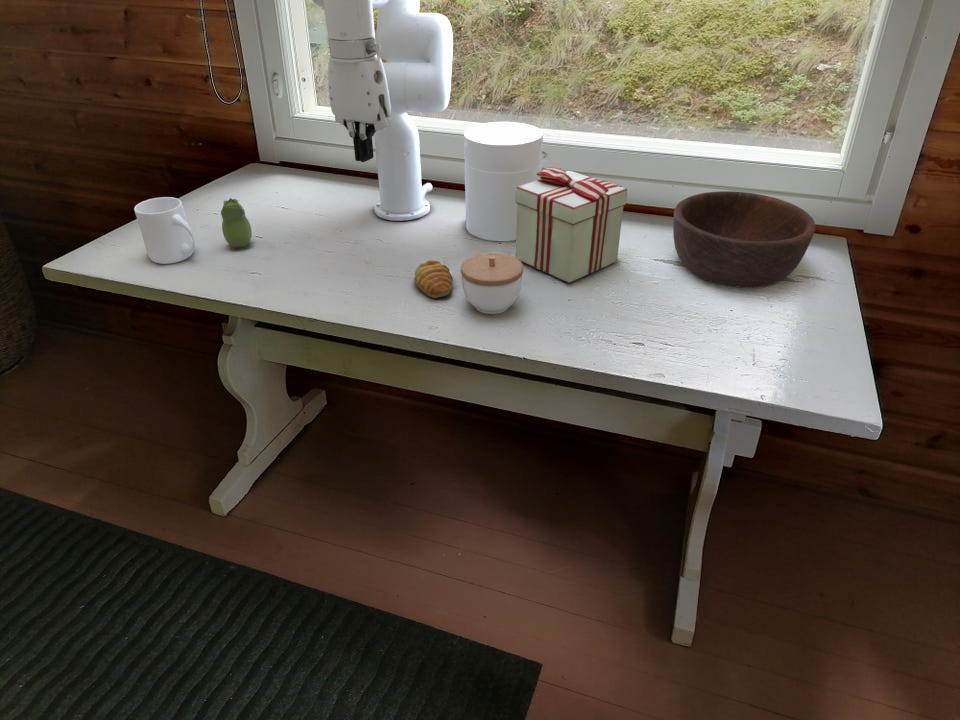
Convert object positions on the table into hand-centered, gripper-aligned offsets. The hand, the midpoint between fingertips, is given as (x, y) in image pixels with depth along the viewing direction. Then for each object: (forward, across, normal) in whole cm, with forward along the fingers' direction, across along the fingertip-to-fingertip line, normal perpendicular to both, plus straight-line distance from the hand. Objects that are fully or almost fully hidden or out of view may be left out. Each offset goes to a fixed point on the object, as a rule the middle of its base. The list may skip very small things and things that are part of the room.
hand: (364, 159), depth 124 cm
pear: (+21, +30, +7) cm, 37 cm away
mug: (+21, +37, +17) cm, 46 cm away
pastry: (+21, -15, +1) cm, 26 cm away
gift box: (+21, -31, -22) cm, 44 cm away
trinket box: (+21, -28, +2) cm, 35 cm away
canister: (+21, -12, -29) cm, 38 cm away
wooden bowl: (+21, -60, -35) cm, 73 cm away
